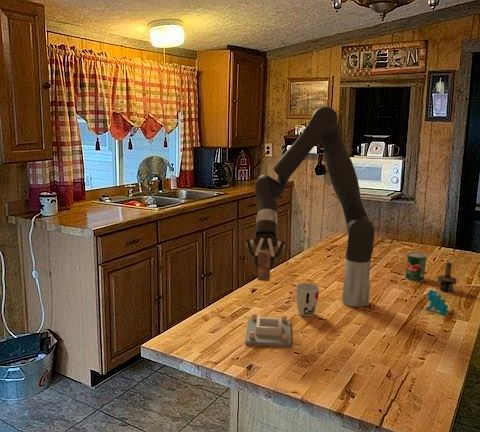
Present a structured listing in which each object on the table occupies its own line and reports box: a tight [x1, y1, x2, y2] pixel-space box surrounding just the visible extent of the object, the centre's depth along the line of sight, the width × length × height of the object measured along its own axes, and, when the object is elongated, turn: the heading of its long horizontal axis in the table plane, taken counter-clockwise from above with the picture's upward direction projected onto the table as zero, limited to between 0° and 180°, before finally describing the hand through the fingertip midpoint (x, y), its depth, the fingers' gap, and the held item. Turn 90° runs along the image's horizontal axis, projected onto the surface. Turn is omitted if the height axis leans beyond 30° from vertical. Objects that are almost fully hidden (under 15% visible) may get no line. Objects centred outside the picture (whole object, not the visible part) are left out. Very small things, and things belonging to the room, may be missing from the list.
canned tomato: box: [404, 251, 427, 283], centre depth 218 cm, size 8×8×11 cm
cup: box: [295, 282, 320, 317], centre depth 176 cm, size 8×8×10 cm
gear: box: [425, 289, 449, 316], centre depth 183 cm, size 11×6×10 cm
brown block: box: [257, 249, 271, 282], centre depth 168 cm, size 4×4×10 cm
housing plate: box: [244, 313, 292, 348], centre depth 160 cm, size 14×18×4 cm
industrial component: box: [437, 261, 458, 294], centre depth 205 cm, size 9×7×12 cm
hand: (264, 267), depth 167 cm, fingers closed on brown block, 4 cm apart
